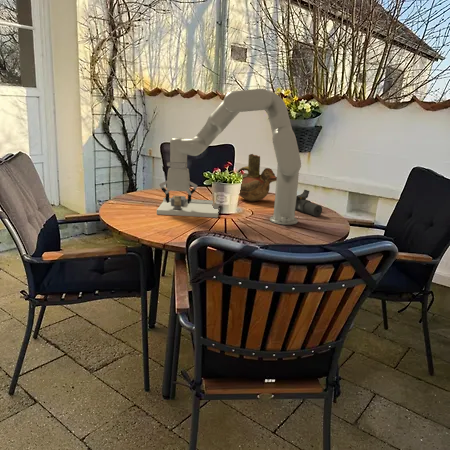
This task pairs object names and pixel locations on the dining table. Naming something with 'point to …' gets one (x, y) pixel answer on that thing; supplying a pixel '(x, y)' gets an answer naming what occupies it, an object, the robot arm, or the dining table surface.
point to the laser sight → (307, 205)
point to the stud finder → (183, 199)
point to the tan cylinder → (177, 203)
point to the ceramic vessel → (256, 180)
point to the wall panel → (189, 208)
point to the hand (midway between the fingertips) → (178, 202)
